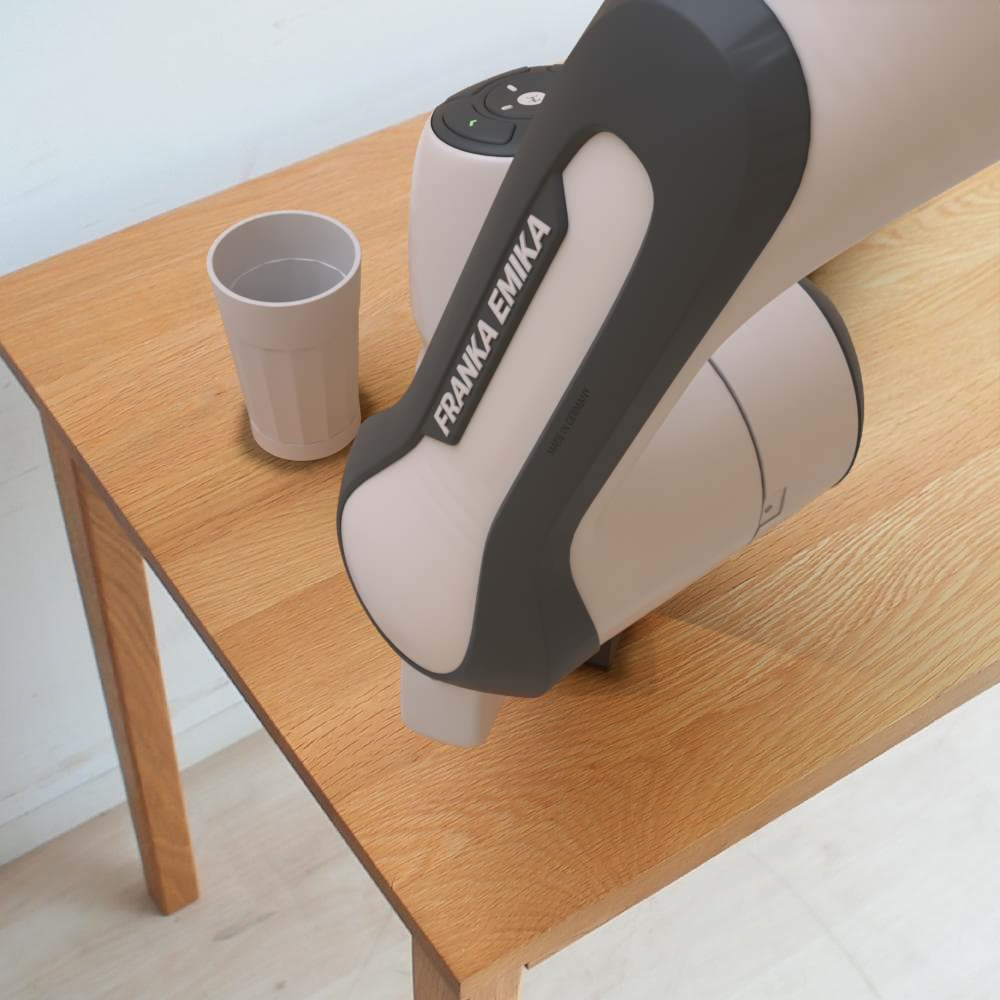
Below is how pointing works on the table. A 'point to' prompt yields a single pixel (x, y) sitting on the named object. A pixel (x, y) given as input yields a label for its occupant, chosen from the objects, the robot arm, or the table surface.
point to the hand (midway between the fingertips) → (519, 636)
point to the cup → (293, 327)
